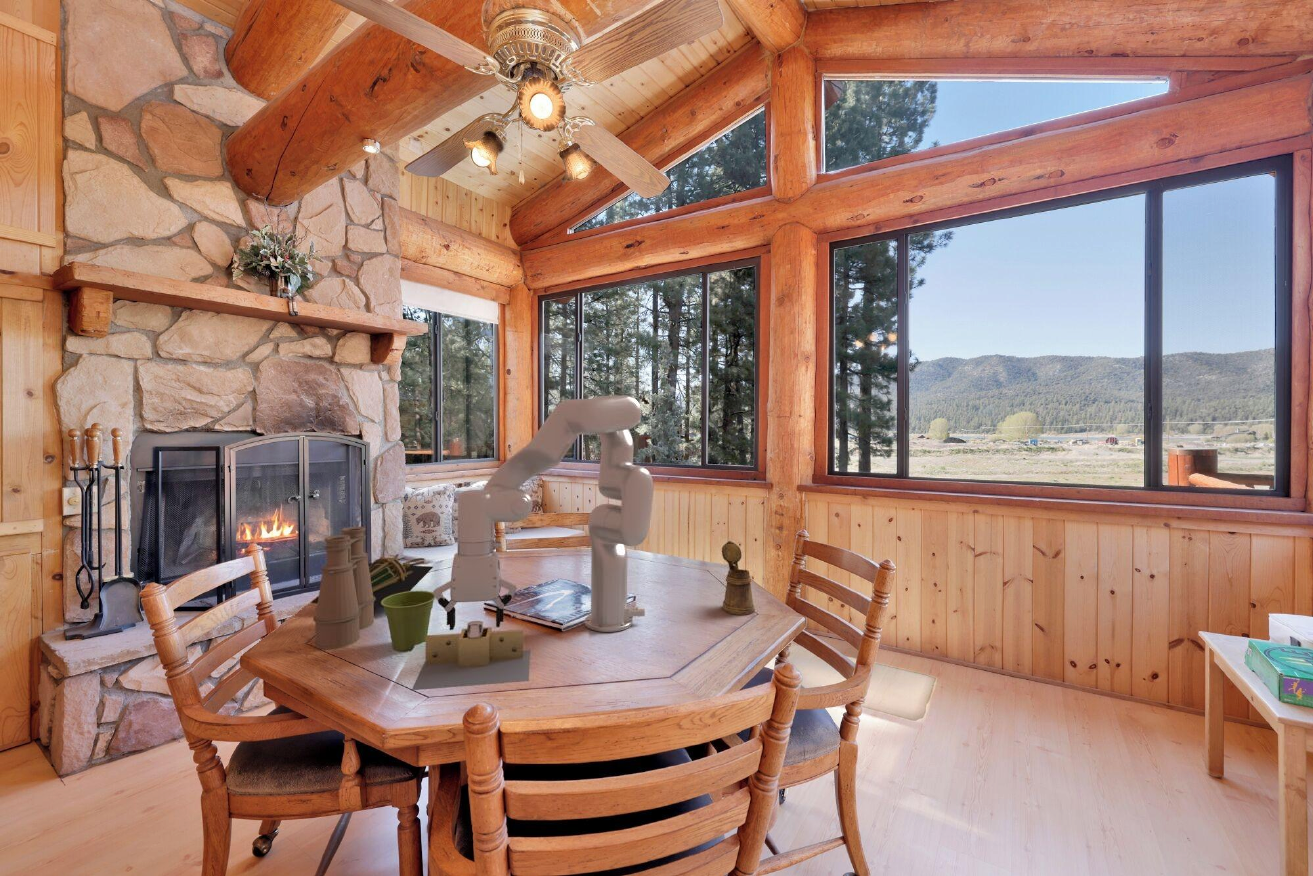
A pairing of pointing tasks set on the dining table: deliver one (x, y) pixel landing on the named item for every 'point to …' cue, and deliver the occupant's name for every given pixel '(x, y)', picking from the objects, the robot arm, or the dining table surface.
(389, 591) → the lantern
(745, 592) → the wooden mug
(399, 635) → the plant pot
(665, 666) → the dining table surface
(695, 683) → the dining table surface
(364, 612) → the binoculars
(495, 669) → the board
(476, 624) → the pin
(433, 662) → the hinge
